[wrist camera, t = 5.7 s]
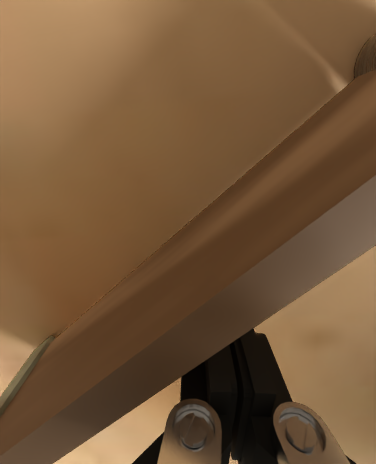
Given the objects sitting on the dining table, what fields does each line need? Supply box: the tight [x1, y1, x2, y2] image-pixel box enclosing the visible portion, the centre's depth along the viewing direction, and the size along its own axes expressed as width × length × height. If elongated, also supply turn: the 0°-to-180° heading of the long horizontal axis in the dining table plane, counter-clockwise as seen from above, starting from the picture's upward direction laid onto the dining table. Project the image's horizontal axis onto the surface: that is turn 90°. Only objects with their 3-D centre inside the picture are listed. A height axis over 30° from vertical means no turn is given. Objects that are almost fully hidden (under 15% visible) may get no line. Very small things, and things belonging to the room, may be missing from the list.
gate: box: [0, 70, 376, 464], centre depth 8 cm, size 2×20×7 cm, turn 132°
